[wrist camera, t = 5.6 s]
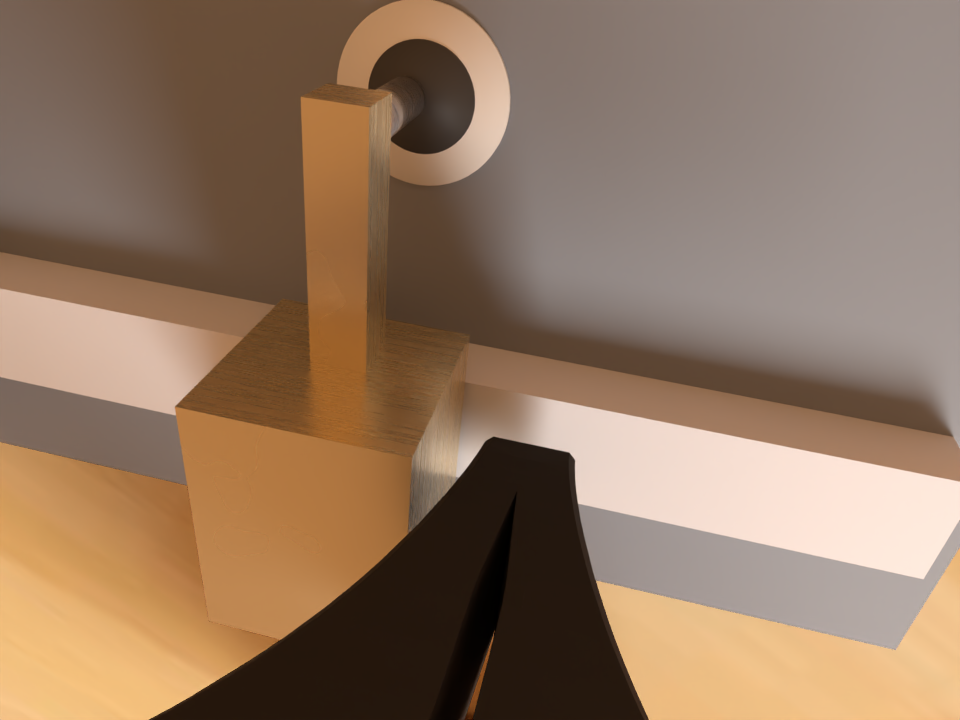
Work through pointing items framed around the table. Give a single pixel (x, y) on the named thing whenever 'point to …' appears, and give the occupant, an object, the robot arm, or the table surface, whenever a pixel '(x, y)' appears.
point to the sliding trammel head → (323, 396)
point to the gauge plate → (536, 257)
